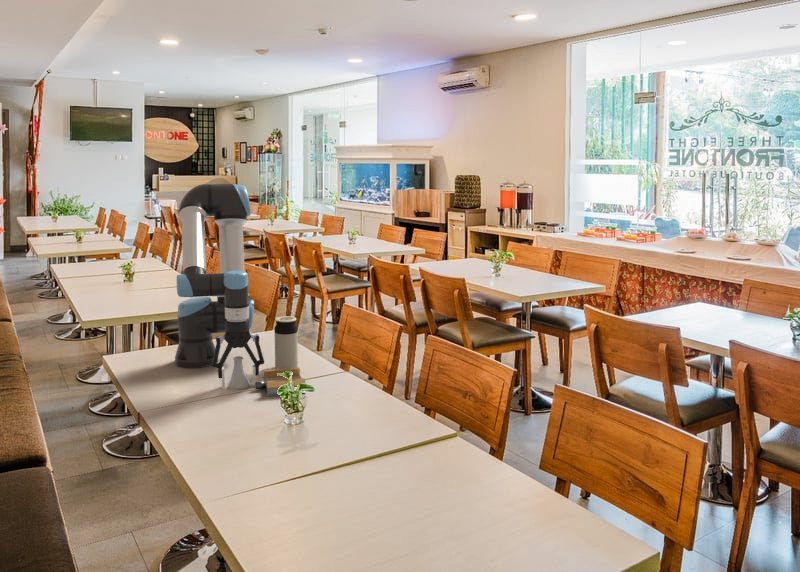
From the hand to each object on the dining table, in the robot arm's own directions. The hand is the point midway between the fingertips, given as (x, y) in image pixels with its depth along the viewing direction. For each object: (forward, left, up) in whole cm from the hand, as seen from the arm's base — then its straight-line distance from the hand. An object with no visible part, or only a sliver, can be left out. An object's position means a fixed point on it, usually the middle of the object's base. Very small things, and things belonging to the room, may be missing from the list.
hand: (239, 386), depth 226 cm
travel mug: (-17, +18, 0) cm, 24 cm away
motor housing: (+5, +12, 0) cm, 13 cm away
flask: (0, 0, -1) cm, 1 cm away
